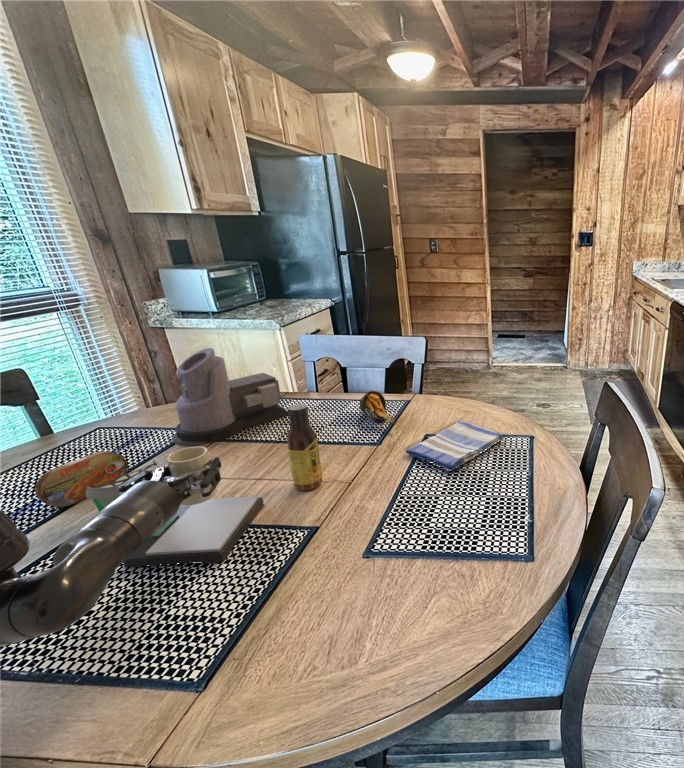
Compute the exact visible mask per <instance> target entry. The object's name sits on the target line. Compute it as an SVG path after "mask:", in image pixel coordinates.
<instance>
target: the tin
mask: <svg viewBox="0 0 684 768" xmlns="http://www.w3.org/2000/svg"><path fill="white" fill-rule="evenodd" d="M127 471H128V462H127V460H126V458H125V457H124V456H123V455H122V454H120V453H117V452H113V451H96V452H93V453H91V454H88V455H86V456H83V457H80V458H78V459H75V460H72V461H70V462H66V463H65V464H62V465H59V466H57V467H54V468H51V469H49V470H47V471H46V472H45V473H43V474H42V475H41V476H40V477H39V478H38V480H37V481H36V484H35V487H34V492H35V496H36V497H37V499H38V500H39V501H40V502H41V503H44V504H46V505H48V506H51V507H56V508H65V507H68V506H69V507H70V506H72V505H74V504H77V503H79V502H81V501H83V500H86V499H87V498H86V490H87V487H90V488H97V487H100V486H102V485H104V484H106V483H108V482H110V481H112V480H114V479H116V478H118V477H119V476H121V475H124V474H126V473H128V472H127Z"/></svg>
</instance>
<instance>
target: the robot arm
mask: <svg viewBox="0 0 684 768" xmlns="http://www.w3.org/2000/svg"><path fill="white" fill-rule="evenodd" d="M221 468H222V462H221V458H220V457H219V456H213V457H212V458H210V461H209V462H208V463H206V464H205V465H204V467H202V468H200V469H198V470H196V471H194V470H190V471H188V472H186V473H184V474H182V475H180V476H175V477H174V476H171V474H170V471H169V467H168V464H167V463H166V464H165V465H164V466H161V468H158V469H156V471H152V472H151V470H145V471H143V472H141V473H140V474H138V475H136V476H135V477H133V478H132V479H130V480H128V481H127V482H125V483H124V484H122V485H120V486H119V487H118V490H119V493H120V496H119V497H118V498H117V499H115V500H114V501H113V502H112V503H110V504H109V505H108V506H106V507H105V508H104V509H103V510H101V511H100V512H99V511H98V513H97V514H96V515H94V517H93V518H92V519H91V520H90V521H89V522H88V523H86V524H85V525H83V526H82V527H81V528H79V529H78V530H77V531H75V532H74V533H73V534H71V535H70V536H69V537H68V538H67V539H65V541H63V542H62V543H61V545H59V546H58V548H57V549H56V551H55V552H54V554H53V559H52V564H53V566H52V567H51V568H49V569H48V570H44V571H40V572H37V573H33V574H29V575H25V576H22V575H21V574H19V573H18V572H17V571H16V569H15V566H16V565H17V564H18V563H19V562H21V561H22V560H23V559H24V558H25V556H26V555H27V554H28V552H29V551H30V547H31V543H30V540H29V538H28V536H27V535H26V534H25V532H24V531H23V530H22V529H21V528H20V527H19V526H18V525H17V524H16V523H15V522H14V521H13V519H12V518H10V516H8V515H7V514H6V513H5V511H3V509H1V508H0V647H4V646H10V645H12V644H17V643H20V642H23V641H27V640H28V641H29V640H33V639H36V638H39V637H42V636H46V635H50V634H54V633H58V632H61V631H62V630H65V629H66V628H68V627H70V626H71V625H73V624H75V623H76V622H78V621H79V620H80V619H82V618H83V617H84V616H86V615H87V614H88V612H90V611H91V609H92V608H93V607H94V606H95V605H96V603H97V602H98V601H99V599H100V598H101V596H102V594H103V593H104V591H105V589H106V588H107V586H108V584H109V582H111V579H112V578H113V575H114V574H115V572H116V570H117V569H118V568H119V567H120V566H121V565H122V564H124V563H123V562H124V561H125V560H126V559H127V558H128V557H129V556H130V555H131V554H132V553H133V552H134V551H135V550H136V549H138V548H139V547H140V546H142V545H143V544H144V543H146V542H147V541H148V540H149V539H150V538H151V537H152V536H153V535H154V534H155V533H156V532H157V531H158V530H159V529H160V528H161V527H162V526H163V525H164V524H165V523H166V522H167V521H169V520H170V519H171V518H172V517H173V516H174V515H175V514H176V512H177V511H178V509H179V507H180V505H181V503H182V501H183V500H185V499H187V498H189V497H190V496H191V495H192V494H199V493H202V497H208V496H210V495H211V493H212V492H213V491H214V489H215V488H216V486H217V487H218V485H219V484H220V482H221V481H222V477H221V472H220V469H221ZM202 473H203V475H204V477H203V478H201V479H200V477H199V475H200V474H202ZM189 477H190V478H191V482H192V485H191V483H190V481H189V479H188V478H189ZM143 478H144V479H145V481H142V479H143Z"/></svg>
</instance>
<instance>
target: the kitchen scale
mask: <svg viewBox="0 0 684 768" xmlns="http://www.w3.org/2000/svg"><path fill="white" fill-rule="evenodd" d="M263 507H264V500H263V497H259V496H239V497H238V496H237V497H235V496H234V497H216V498H215V497H212V498H211V499H209V500H207V501H205V502H202V503H199V504H195V505H180V507H179V509H178V511H177V512H176V514H175V515H174V516H173V517H172V518H171V519H170V520H169V521H167V522H166V523H165V524H164V525H163V526H162V527H161V528H160V529H159V530H158V531H157V532H156V533H155V534H154V535H153V536H152V537H151V538H150V539H149V540H148V541H147V542H146V543H144V544H143V545H142V546H140V547H139V548H138V549H136V550H135V551H134V552H133V553H132V554H131V555H130V556H129V557H128V558H127V559H126V560H125V561H124V562H123V563H122V564H123V566H124V568H125V567H134V568H137V567H136V566H147V565H160V564H161V565H164V564H177V563H189V562H215V563H224V562H225V560H226V559H227V558H228V556H229V555H230V554H231V552H232V550H234V548H235V546H236V545H237V543H238V542H239V541H240V539H241V538H242V536H243V535H244V534H245V532H246V531H247V529H248V528H249V527H250V525H251V524H252V522H253V521H254V519H255V518H256V516H257V515H258V514H259V512H260V511H261V510H262V508H263ZM223 561H224V562H223Z"/></svg>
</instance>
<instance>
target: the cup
mask: <svg viewBox="0 0 684 768" xmlns="http://www.w3.org/2000/svg"><path fill="white" fill-rule="evenodd" d="M210 460H211V458H210V454H209V449H208V448H207V447H206V446H202V445H199V446H187V447H184V448H180V449H178V450H175V451H173V452H171V453H169V454H168V455H167V457H166V464H168V467H169V471H170V474H171V476H174V477H175V476H180V475H182V474H184V473H186V472H188V471H190V470H194V471H196V470H198V469H200V468H202V467H204V465H205V464H206V463H208V462H209V461H210ZM199 477H200V479H201V478H203V477H204V475H203V473H202V474H200V475H199ZM188 479H189V481H190V483H191V485H192V482H191V478H190V477H189V478H188ZM217 493H218V485H217V486H216V488H215V489H214V491H213V492H212V493H211V495H210V496H208V497H202V493H199V494H192V495H191V496H190V497H189V498H187V499H185V500H183V501H182V503H181V505H195V504H199V503H202V502H205V501H207V500H209V499H212V498H215V496H216V495H217Z"/></svg>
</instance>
